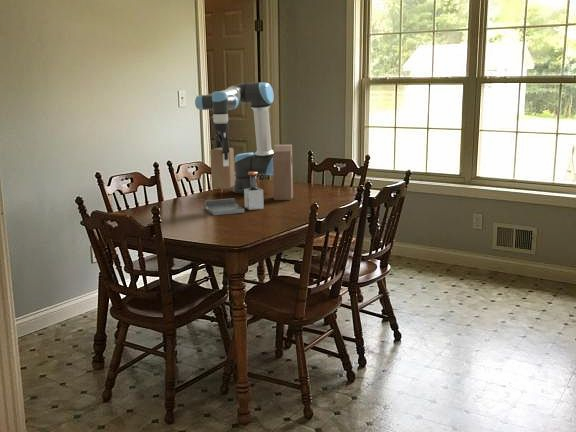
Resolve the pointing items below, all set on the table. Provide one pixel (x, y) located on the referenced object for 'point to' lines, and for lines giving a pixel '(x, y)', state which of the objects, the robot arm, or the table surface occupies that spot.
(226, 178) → the wooden block
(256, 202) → the pin housing
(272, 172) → the robot arm
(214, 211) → the press bed
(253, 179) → the press pin
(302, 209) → the table surface
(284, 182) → the decorative block
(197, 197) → the table surface
